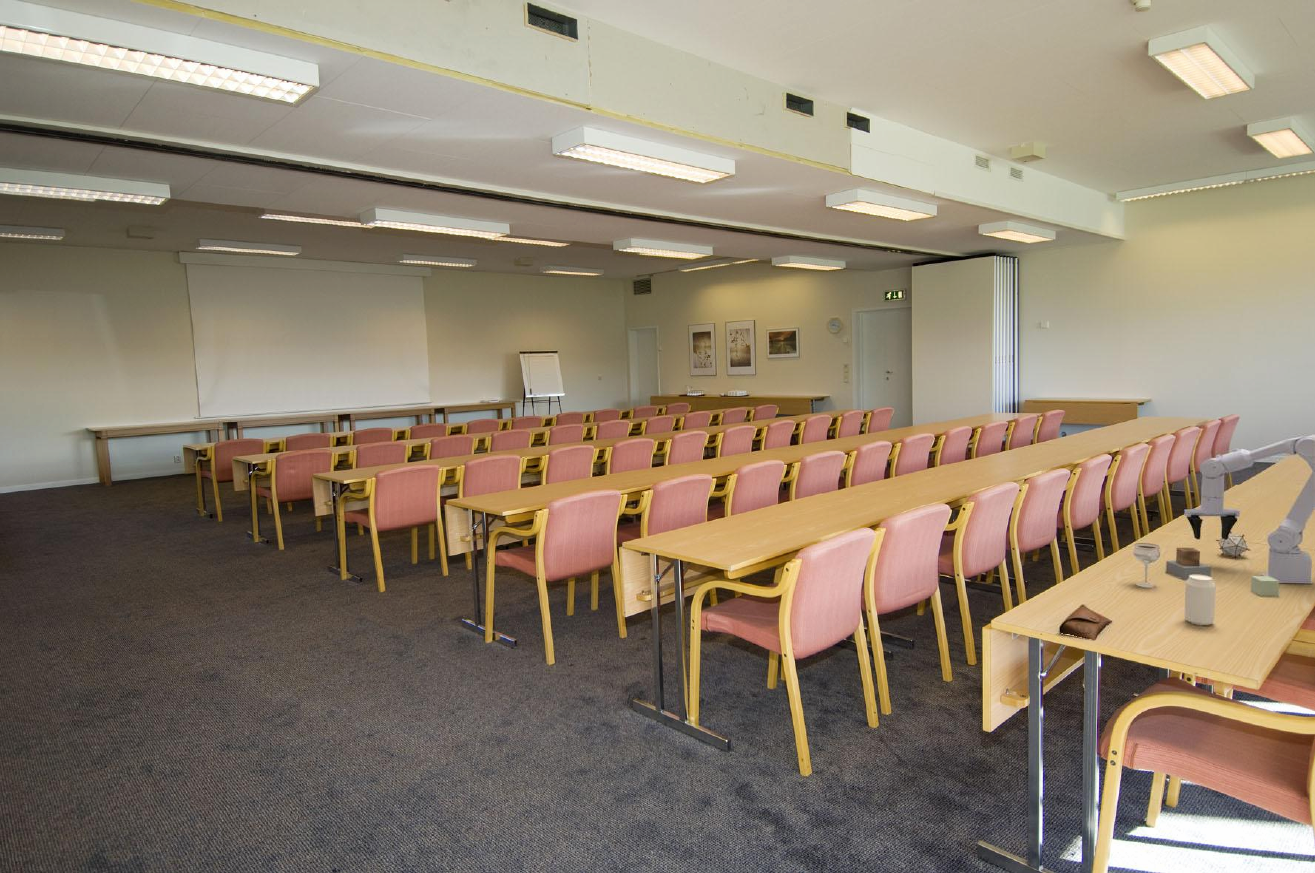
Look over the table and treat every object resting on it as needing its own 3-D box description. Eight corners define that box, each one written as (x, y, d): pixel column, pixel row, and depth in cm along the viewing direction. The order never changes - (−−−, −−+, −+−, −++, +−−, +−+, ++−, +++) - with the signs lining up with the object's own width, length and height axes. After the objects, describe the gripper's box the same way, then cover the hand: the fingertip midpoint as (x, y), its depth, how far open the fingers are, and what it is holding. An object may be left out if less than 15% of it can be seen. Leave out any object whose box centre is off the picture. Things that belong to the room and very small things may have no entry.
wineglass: (1135, 587, 224) (1136, 547, 223) (1130, 580, 230) (1131, 542, 229) (1161, 589, 221) (1163, 549, 220) (1156, 582, 228) (1157, 543, 226)
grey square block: (1191, 572, 237) (1191, 559, 237) (1210, 579, 229) (1210, 566, 229) (1166, 573, 237) (1166, 560, 237) (1184, 580, 229) (1184, 568, 229)
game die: (1229, 568, 250) (1213, 546, 249) (1222, 553, 257) (1206, 531, 256) (1259, 558, 245) (1244, 535, 244) (1251, 543, 252) (1236, 521, 251)
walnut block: (1192, 561, 235) (1193, 547, 234) (1199, 565, 230) (1200, 551, 230) (1176, 561, 235) (1176, 547, 235) (1182, 565, 231) (1183, 551, 231)
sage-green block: (1268, 591, 216) (1269, 576, 215) (1278, 596, 212) (1279, 580, 211) (1251, 591, 217) (1251, 576, 216) (1260, 596, 212) (1260, 580, 212)
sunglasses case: (1096, 641, 185) (1081, 615, 187) (1069, 649, 189) (1054, 624, 191) (1113, 620, 198) (1099, 596, 200) (1087, 628, 203) (1073, 605, 204)
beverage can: (1181, 623, 195) (1183, 577, 193) (1187, 616, 199) (1188, 572, 198) (1211, 628, 190) (1213, 582, 189) (1216, 621, 194) (1218, 576, 193)
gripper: (1231, 493, 240) (1230, 535, 241) (1180, 494, 243) (1179, 535, 244) (1244, 498, 233) (1242, 541, 234) (1191, 498, 236) (1189, 540, 237)
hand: (1210, 538), depth 239 cm, fingers open, 7 cm apart
